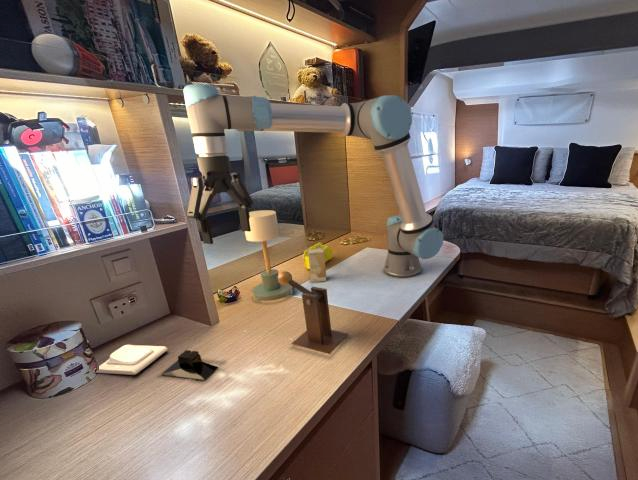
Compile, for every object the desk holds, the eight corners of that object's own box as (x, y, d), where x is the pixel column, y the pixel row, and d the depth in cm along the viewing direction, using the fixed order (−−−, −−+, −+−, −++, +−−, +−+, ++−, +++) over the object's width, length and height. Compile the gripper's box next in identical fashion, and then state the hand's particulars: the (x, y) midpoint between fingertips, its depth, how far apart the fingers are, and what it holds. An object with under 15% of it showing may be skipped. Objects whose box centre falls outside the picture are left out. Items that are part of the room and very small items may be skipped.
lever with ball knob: (273, 282, 90) (276, 271, 88) (282, 277, 93) (285, 266, 91) (313, 309, 87) (317, 298, 85) (321, 302, 91) (325, 291, 89)
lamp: (271, 285, 133) (257, 208, 121) (300, 290, 127) (289, 210, 115) (245, 300, 121) (226, 217, 109) (275, 306, 116) (260, 219, 104)
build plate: (222, 363, 87) (219, 348, 86) (204, 382, 81) (199, 366, 79) (181, 358, 90) (177, 343, 88) (160, 376, 83) (154, 360, 82)
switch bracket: (292, 348, 92) (283, 295, 86) (313, 329, 100) (306, 281, 94) (329, 357, 87) (323, 303, 81) (348, 338, 96) (344, 287, 89)
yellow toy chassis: (322, 258, 160) (320, 240, 157) (333, 259, 158) (331, 241, 155) (304, 270, 146) (301, 251, 143) (315, 271, 144) (313, 252, 141)
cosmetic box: (311, 282, 133) (307, 253, 128) (311, 278, 137) (307, 249, 132) (327, 280, 134) (324, 251, 129) (327, 276, 138) (324, 248, 133)
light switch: (125, 337, 94) (164, 338, 92) (131, 350, 96) (169, 351, 93) (88, 361, 85) (129, 363, 82) (95, 374, 86) (136, 377, 83)
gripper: (238, 153, 98) (250, 225, 106) (156, 158, 77) (179, 247, 85) (258, 153, 95) (269, 227, 103) (178, 158, 74) (200, 251, 82)
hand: (228, 236), depth 94 cm, fingers open, 13 cm apart
